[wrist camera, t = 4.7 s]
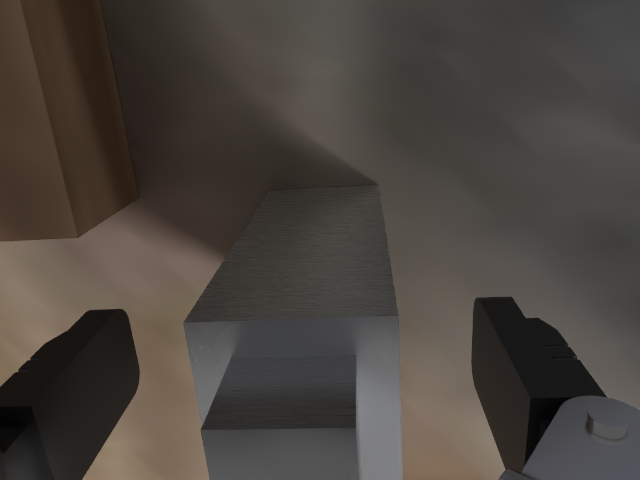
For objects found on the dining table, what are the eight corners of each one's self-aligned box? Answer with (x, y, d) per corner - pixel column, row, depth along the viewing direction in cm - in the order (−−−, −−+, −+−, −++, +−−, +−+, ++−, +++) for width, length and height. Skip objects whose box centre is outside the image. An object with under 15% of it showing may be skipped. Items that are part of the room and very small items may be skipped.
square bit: (378, 184, 19) (408, 381, 7) (381, 284, 20) (412, 581, 9) (269, 190, 19) (141, 387, 8) (280, 288, 20) (183, 578, 9)
